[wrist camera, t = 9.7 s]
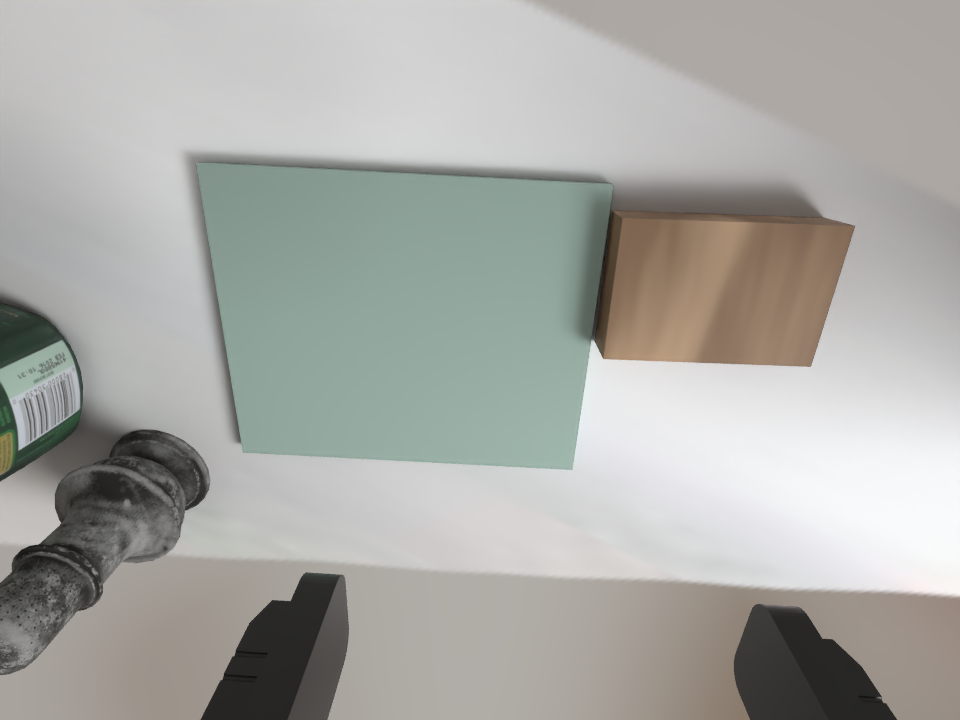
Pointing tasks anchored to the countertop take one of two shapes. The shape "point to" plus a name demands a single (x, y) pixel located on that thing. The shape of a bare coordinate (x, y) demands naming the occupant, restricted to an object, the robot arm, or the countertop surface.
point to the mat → (406, 311)
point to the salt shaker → (98, 537)
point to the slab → (718, 287)
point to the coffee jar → (34, 388)
